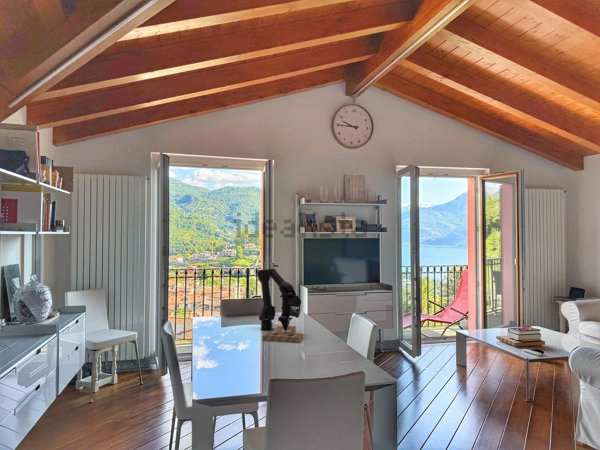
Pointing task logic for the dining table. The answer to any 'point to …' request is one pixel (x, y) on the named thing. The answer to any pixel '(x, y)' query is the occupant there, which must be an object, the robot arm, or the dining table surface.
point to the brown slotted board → (283, 337)
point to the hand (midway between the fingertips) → (286, 330)
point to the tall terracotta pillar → (292, 328)
